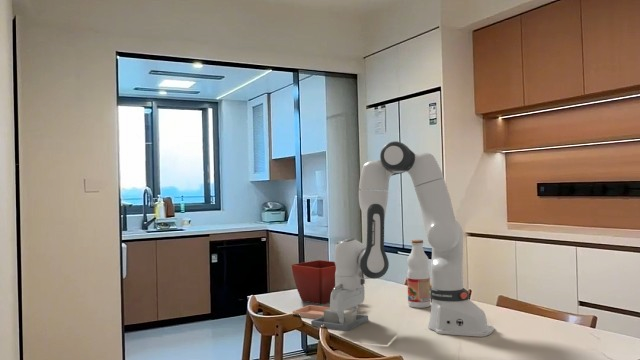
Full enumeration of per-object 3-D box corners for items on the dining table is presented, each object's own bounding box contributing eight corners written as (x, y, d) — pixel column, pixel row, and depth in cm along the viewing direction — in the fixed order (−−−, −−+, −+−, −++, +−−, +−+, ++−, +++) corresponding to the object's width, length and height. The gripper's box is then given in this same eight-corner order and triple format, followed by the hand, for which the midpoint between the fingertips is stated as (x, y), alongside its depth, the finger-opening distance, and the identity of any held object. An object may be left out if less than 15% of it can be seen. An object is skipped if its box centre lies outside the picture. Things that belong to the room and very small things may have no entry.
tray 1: (341, 314, 210) (341, 308, 210) (325, 321, 200) (325, 315, 200) (309, 310, 218) (309, 305, 218) (292, 317, 208) (292, 311, 208)
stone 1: (340, 321, 197) (340, 309, 197) (333, 324, 193) (332, 311, 194) (331, 319, 200) (331, 308, 200) (323, 322, 196) (323, 310, 196)
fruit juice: (430, 308, 216) (428, 241, 217) (407, 308, 218) (405, 241, 219) (430, 303, 225) (428, 238, 226) (408, 303, 227) (406, 239, 228)
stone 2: (356, 323, 194) (355, 310, 194) (352, 326, 190) (351, 313, 190) (344, 322, 196) (344, 310, 196) (340, 325, 192) (340, 312, 192)
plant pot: (350, 299, 238) (349, 262, 238) (321, 307, 224) (320, 268, 224) (320, 294, 251) (319, 259, 251) (291, 301, 237) (290, 264, 238)
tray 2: (368, 321, 198) (368, 315, 198) (347, 332, 184) (347, 325, 184) (333, 317, 206) (333, 311, 206) (311, 327, 192) (311, 320, 192)
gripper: (340, 288, 183) (341, 327, 183) (367, 278, 200) (368, 314, 200) (325, 286, 186) (326, 325, 186) (352, 277, 204) (353, 313, 203)
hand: (348, 319), depth 193 cm, fingers open, 7 cm apart
